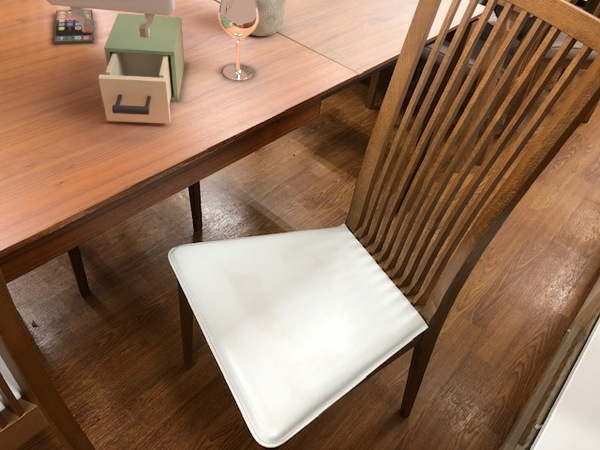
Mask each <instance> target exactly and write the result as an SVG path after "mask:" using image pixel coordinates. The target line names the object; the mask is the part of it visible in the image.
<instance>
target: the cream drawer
mask: <svg viewBox="0 0 600 450" xmlns="http://www.w3.org/2000/svg"><path fill="white" fill-rule="evenodd" d="M137 76H143V77H137ZM97 79H98V84H99V88H100V89H99V90H100V93H101V98H102V104H103V108H104V112H105V117H106V121H107V122H125V123H126V122H127V123H147V124H149V123H151V124H171V120H172V119H171V118H172V117H171V109H170V105H171V104H170V103H171V101H170V99H171V94H172V89H173V80H172V69H171V58H170V55H156V54H139V53H122V52H113V54H112V56H111V59H110V61H109V64H108V66H106V69H105V74H99V75H98V77H97Z"/></svg>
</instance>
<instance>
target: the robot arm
mask: <svg viewBox="0 0 600 450" xmlns="http://www.w3.org/2000/svg"><path fill="white" fill-rule="evenodd" d="M46 1H47V3H49V4H50V5H51V6H57V7H58V6H59V7H70V10H71V13H72V14H73V15H74V16H75V18H76V19H77V20H78V21H79V23H81V28H82V32H85V33H92V31H93V32H94V24H93V25H92V19H87V18H86V17H85V15H84V14H83V12H82V11H81V10H83V9H90V10H104V11H113V12H114V11H115V12H123V13H134V14H144V15H145V19H148V20H147V22H146V23H145V24H140V27H139V32H140V37H145V38H149V36H150V26H151V24H152V22H153V20H154V17H155V16H171V15H172V14H173V13H174V11H175V10H176V4H177V0H46Z"/></svg>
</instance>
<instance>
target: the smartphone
mask: <svg viewBox="0 0 600 450" xmlns="http://www.w3.org/2000/svg"><path fill="white" fill-rule="evenodd" d="M81 11H82V12H83V14H84V15H85V17H86V18H87V19H92V25H93V26H94V17H93V16H94V15H93V9H82V10H81ZM53 38H54V40H53V41H54V42H53V43H54V45H75V44H77V45H79V44H94V30H93V31H92V33H85V32H82V28H81V23H79V21H78V20H77V19H76V18H75V16H74V15H73V14H72V13H71V9H59V10H57V9H56V10H55V24H54V37H53Z"/></svg>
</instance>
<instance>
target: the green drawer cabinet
mask: <svg viewBox="0 0 600 450" xmlns="http://www.w3.org/2000/svg"><path fill="white" fill-rule="evenodd" d="M147 20H148V19H145V14H137V13H120V12H118V13H117V15H116V18H115V20H114V22H113V25H112V27H111V30H110V33H109V35H108V36H107V40H106V42H105V45H104V47H103V50H104V55H105V60H106V65H107V66H106V67H108V64H109V61H110V59H111V56H112V54H113V52H122V53H139V54H156V55H170V58H171V69H172V80H173V89H172V94H171V99H170V102H179V99H180V93H181V87H182V82H183V77H184V70H185V64H186V63H185V52H184V51H185V49H184V48H185V47H184V36H183V35H184V33H183V21H182V17H179V16H167V15H155V17H154V20H153V22H152V24H151V26H150V36H149V38H145V37H140V32H139V27H140V24H145V23H146V22H147Z"/></svg>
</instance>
